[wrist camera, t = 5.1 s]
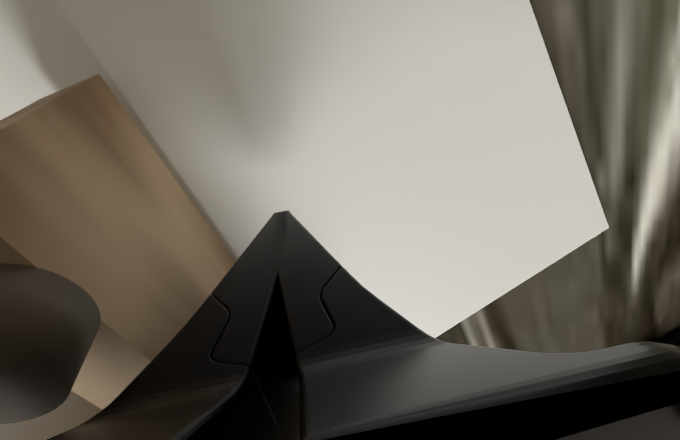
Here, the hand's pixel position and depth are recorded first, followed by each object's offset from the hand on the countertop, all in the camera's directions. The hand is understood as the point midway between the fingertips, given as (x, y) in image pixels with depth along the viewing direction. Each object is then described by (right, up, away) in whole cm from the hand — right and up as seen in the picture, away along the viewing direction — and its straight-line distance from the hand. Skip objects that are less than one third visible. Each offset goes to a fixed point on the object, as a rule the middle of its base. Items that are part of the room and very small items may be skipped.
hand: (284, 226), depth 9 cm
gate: (-2, -2, +3) cm, 4 cm away
